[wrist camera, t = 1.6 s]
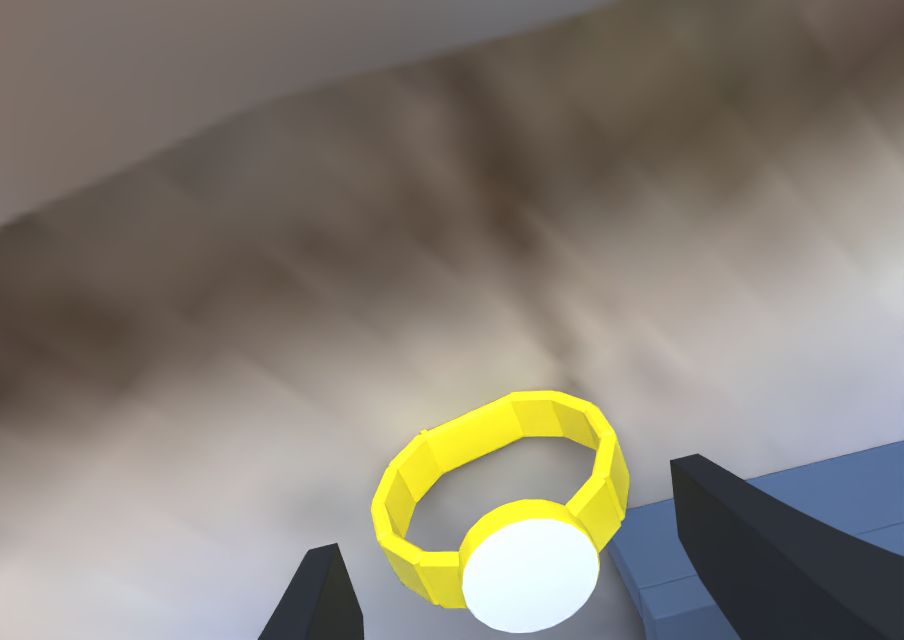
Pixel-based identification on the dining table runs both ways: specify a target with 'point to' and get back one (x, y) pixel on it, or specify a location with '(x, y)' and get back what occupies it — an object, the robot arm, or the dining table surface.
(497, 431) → the watch
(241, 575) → the dining table surface
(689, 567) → the blue stand
